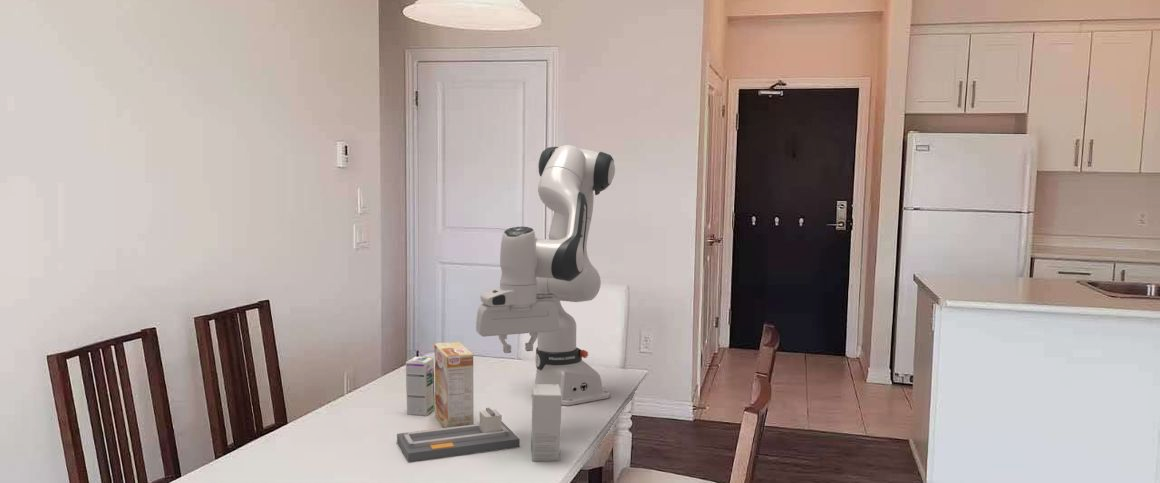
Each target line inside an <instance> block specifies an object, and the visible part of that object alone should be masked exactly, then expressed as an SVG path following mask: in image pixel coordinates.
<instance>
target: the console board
mask: <svg viewBox="0 0 1160 483" xmlns="http://www.w3.org/2000/svg"><path fill="white" fill-rule="evenodd" d="M520 441H521V440H520V438H519V437H518V436H517V434H515V433H514V431H512V430H511V428H510V427H508V426H507V425H506V424H505V423H504V422H503V421H502V431H496V432H488V433H483V432H482V431H481V430H480V423H476V424H474V425H465V426H457V427H449V428H443V427H442V428H431V429H422V430H416V431H409V432H401V433H397V434H396V442H397V445H398V446H399V448H400V449H401V451H402V453H403V455H404V457H405V459H406V461H407V462H408V463H412V462H413V463H414V462H419V461H426V460H434V459H441V458H442V459H443V458H449V457H456V456H462V455H464V456H465V455H471V454H472V455H473V454H477V453H478V454H479V453H486V452H493V451H500V450H508V449H515V448H520V447H521V446H520V445H521V444H520V443H521V442H520Z"/></svg>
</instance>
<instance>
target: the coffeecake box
mask: <svg viewBox="0 0 1160 483" xmlns="http://www.w3.org/2000/svg"><path fill="white" fill-rule="evenodd" d="M433 348H434V394H435V409H434V416H435V419H437V421H438V422H439V424H440V425H441V426H442V428H449V427H457V426H465V425H474V420H475V418H474V414H475V412H474V354H473V353H472V352H471V351H470V350H469V349H468V348H467V347H465V345H464V344H462V343H461V342H460V341H455V342H453V341H452V342H438V343H437V342H436V343H434V347H433Z"/></svg>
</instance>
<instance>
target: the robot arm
mask: <svg viewBox="0 0 1160 483" xmlns="http://www.w3.org/2000/svg"><path fill="white" fill-rule="evenodd" d="M537 165H538V166H537V167H538V174H539V177H540V179H539V182H538V186H537V187H538V189H537V190H538V191H537V193H538V195H539V198H540V201H541V202H542V203H543V204H544V205H545V206H546V207H547V209H549V210H551V211H552V212H553V216H552V218H551V224H550V227H549V232H548V239H546V238H545V239H544V238H543V239H542V238H538V237H536V234H535V233H536V232H535V229H533V228H532V227H529V226H515V227H514V226H513V227H509V228H507V229H505V230H504V231H503V233H502V237H501V242H500V253H499V255H500V257H499V266H500V270H501V277H500V281H499V287H495V288H493V289H491V290H488V291H486V292H484V293H483V292H482V293H481V295H480V301H481V302H482V304H480V306H479V307H478V309H477V312H476V313H477V314H476V321H475V322H476V323H475V324H476V325H475V329H476V332H477V333H478V334H479V336H481V337H495V336H497V337H498V339H499V341H500V343H501V344H502V346H503V348H502V349H503V350H502V351H503V353H504V354H510V353H512V345H511V344H510V343H509V344H507V343H508V342H507V341H506V340H507V339H508V336H509V335H521V334H522V335H525V334H529V336H530V338H529V340H528V342H525V344H524V346H525V348H524V350H525V351H526V352H533V351H534V344H535V342H536V341H537V347H536V349H535V367H536V373H535V380H534V384H559V387H560V389H561V406H573V405H578V404H583V403H589V402H594V401H598V400H605V399H609V398H610V397H611V392H610V391H609V389H607V388H606V387H604V386H603V382H602V379H601V375H600V373H599V372H598V371H597V370H595V369H594V368H593V367H591V366H590V365H589V364H588V363H586V362H585V361H584V360H583V358H584V359H587V358H588V357H589V352H588V351H587V350H584V349H580V348H579V347H577V323H576V320H575V318H574V317H573V316H572V315H571V314H569V313H568V312H567V311H565V309H564V307H563V306H562V304H561V302H571V303H581V302H583V303H584V302H589V301H592V300H594V299H595V298H596V297H597V295H598V294H599V292H600V288H601V284H602V283H601V276H600V274H599V272H598V270H597V268H595V267H594V265H593V264H592V263H591V261H590V259H589V256H588V251H587V249H588V248H587V244H588V237H589V232H590V227H591V226H590V225H591V222H592V217H593V211H594V202H595V201H594V200H595V199H594V198H595V196H598V195H599V194H600V193H601V192H603V191H605V190H606V189H608V188H609V186H610V185H611V183H612V182H613V179H614V177H615V174H616V166H615V160H614V158H613V156H612V155H611V154H608V153H606V152H604V151H595V150H592V149H587V148H581V147H577V146H575V145H572V144H564V145H561V146H550V147H547V148H545V149H544V150H542V152H541V153H540V156H539V159H538V164H537ZM594 195H595V196H594Z"/></svg>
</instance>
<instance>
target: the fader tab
mask: <svg viewBox="0 0 1160 483" xmlns="http://www.w3.org/2000/svg"><path fill="white" fill-rule="evenodd" d="M502 419H503V418H502V414H501V413H500V412H499V411H498V410H497V408H496V409H495V408H494V409H492V408H490V407H485V409H484V410H479V424H480V430H481V431H482V432H483V433H488V432H496V431H502V422H503V421H502Z"/></svg>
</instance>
